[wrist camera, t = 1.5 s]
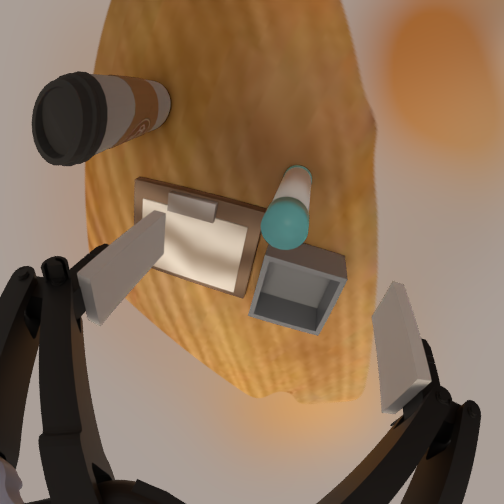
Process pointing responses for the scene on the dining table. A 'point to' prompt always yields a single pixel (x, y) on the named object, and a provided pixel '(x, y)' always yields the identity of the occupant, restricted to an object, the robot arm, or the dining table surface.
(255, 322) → the dining table surface
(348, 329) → the dining table surface
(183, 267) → the clipboard
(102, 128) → the coffee cup
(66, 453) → the robot arm
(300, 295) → the grey open box
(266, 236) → the marker
